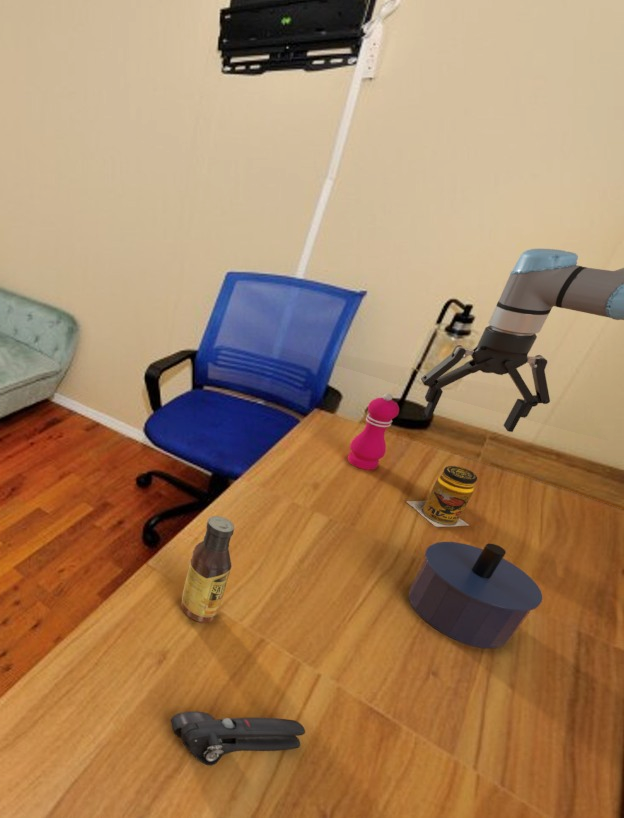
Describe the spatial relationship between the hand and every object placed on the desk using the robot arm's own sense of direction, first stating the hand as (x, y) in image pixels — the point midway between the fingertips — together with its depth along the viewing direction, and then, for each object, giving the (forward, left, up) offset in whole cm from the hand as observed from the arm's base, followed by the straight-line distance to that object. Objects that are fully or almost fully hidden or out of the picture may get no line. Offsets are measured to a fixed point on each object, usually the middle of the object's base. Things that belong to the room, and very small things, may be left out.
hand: (466, 421), depth 110 cm
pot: (-4, +40, -19) cm, 45 cm away
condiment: (-1, +9, -19) cm, 21 cm away
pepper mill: (+14, -4, -19) cm, 24 cm away
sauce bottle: (+32, +67, -19) cm, 77 cm away
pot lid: (-4, +40, -10) cm, 41 cm away
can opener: (+20, +87, -19) cm, 91 cm away
